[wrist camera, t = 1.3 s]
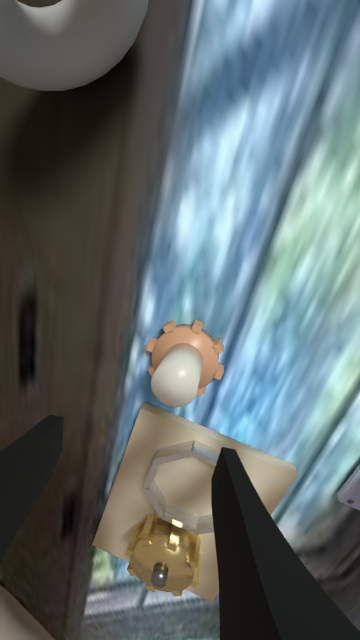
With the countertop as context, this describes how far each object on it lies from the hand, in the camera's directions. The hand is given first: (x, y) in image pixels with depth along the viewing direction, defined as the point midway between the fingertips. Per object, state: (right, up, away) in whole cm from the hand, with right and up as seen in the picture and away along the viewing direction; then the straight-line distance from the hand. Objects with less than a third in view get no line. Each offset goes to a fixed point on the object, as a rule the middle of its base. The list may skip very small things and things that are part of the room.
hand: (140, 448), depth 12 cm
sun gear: (+1, -16, +15) cm, 22 cm away
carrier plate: (+2, -13, +14) cm, 19 cm away
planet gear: (+2, +3, +10) cm, 10 cm away
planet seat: (+3, -9, +13) cm, 16 cm away
